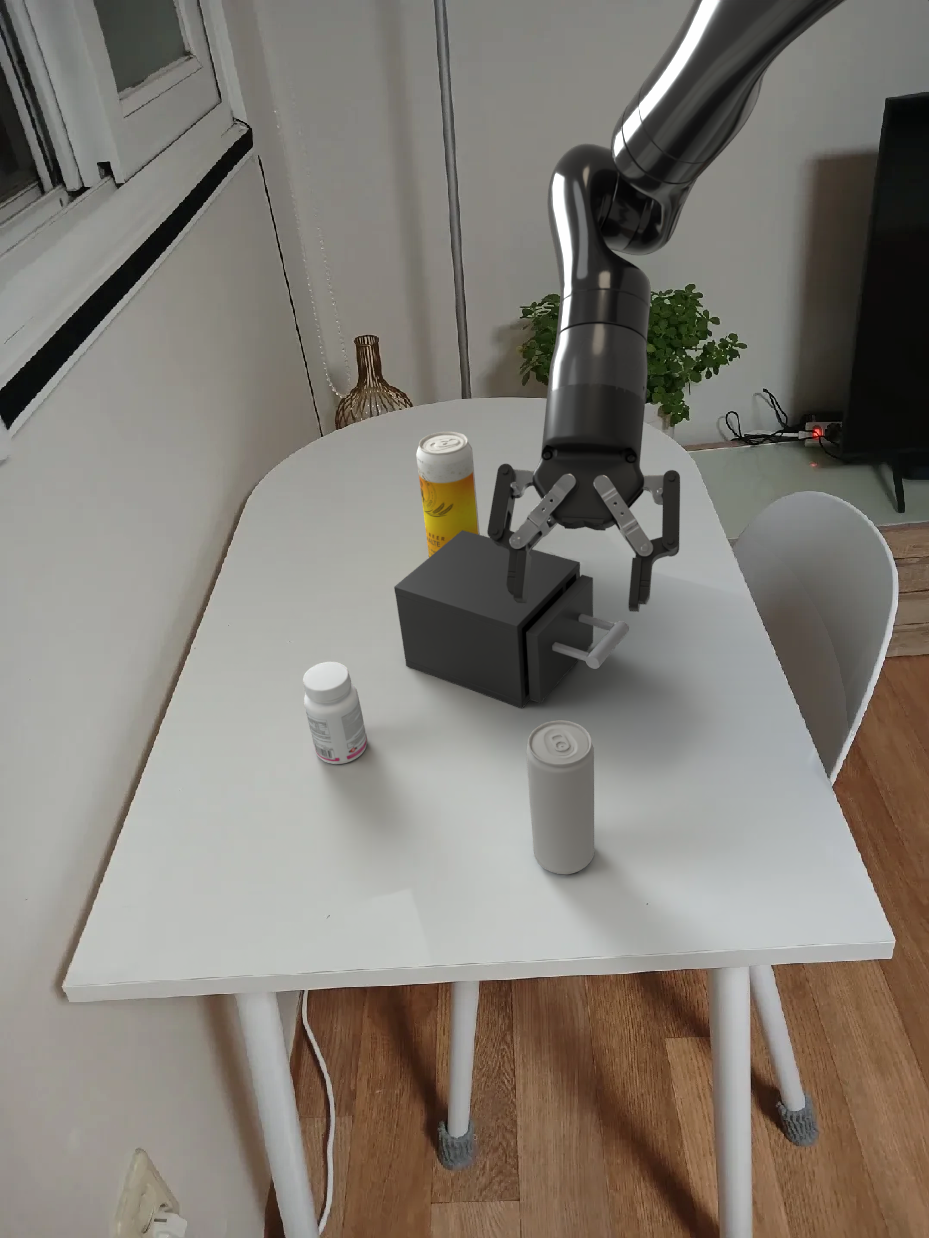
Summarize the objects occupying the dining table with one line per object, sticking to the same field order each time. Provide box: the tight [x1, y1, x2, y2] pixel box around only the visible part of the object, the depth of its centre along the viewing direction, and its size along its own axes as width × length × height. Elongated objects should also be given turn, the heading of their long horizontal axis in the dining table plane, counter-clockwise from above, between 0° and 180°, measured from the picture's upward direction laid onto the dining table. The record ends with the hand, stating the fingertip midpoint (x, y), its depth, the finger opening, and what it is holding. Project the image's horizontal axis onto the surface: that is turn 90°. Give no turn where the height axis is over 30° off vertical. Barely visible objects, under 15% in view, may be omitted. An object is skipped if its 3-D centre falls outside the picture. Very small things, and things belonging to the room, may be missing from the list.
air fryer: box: [393, 530, 581, 709], centre depth 93 cm, size 14×12×10 cm
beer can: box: [415, 431, 481, 558], centre depth 107 cm, size 6×6×15 cm
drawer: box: [522, 574, 630, 704], centre depth 91 cm, size 17×10×8 cm, turn 56°
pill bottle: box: [302, 661, 368, 765], centre depth 84 cm, size 5×5×8 cm
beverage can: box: [526, 719, 595, 875], centre depth 71 cm, size 5×5×12 cm
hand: (576, 605), depth 71 cm, fingers open, 8 cm apart
